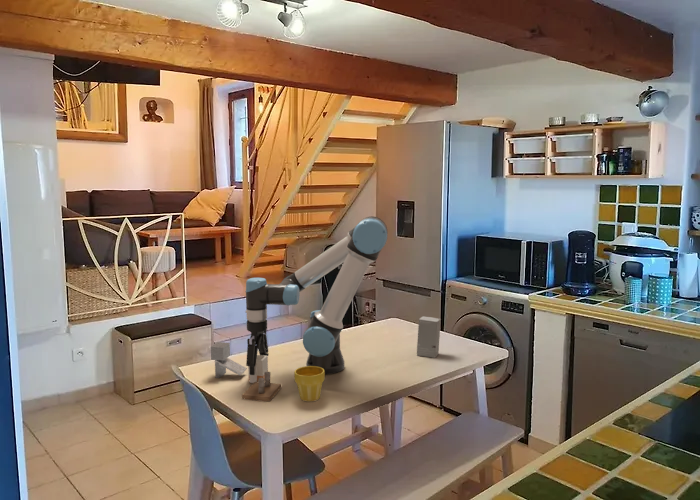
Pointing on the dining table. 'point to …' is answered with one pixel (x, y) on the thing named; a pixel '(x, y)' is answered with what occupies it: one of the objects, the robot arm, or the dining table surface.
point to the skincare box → (428, 337)
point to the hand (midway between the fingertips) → (258, 377)
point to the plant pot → (309, 382)
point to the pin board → (261, 397)
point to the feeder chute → (224, 360)
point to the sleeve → (261, 366)
